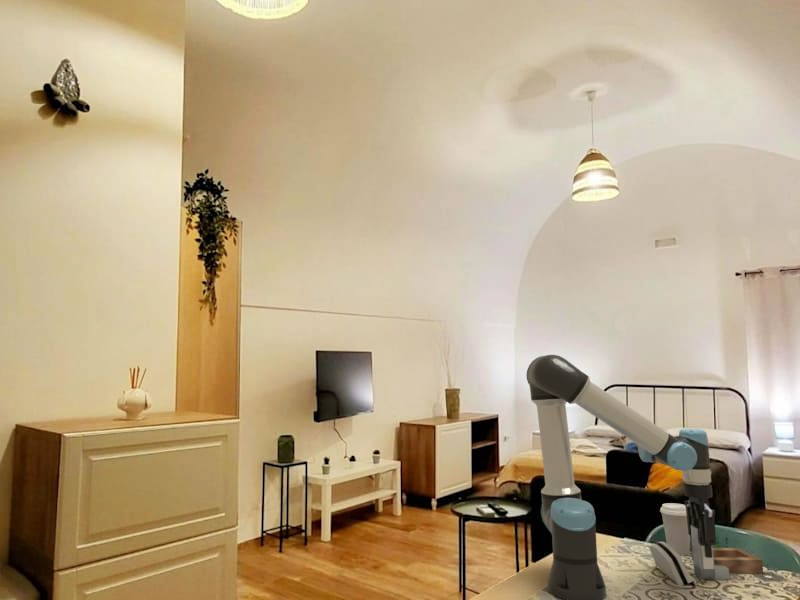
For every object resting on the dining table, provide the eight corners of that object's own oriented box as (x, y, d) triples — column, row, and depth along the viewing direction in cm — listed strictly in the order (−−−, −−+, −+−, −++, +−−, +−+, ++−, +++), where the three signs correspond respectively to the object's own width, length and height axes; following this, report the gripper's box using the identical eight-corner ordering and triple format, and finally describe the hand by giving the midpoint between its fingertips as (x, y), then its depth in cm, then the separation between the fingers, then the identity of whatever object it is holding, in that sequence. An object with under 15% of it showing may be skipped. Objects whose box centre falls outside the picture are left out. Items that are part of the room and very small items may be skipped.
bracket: (701, 579, 162) (697, 528, 164) (694, 574, 166) (690, 525, 168) (729, 579, 162) (725, 528, 163) (722, 574, 165) (717, 524, 167)
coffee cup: (665, 556, 183) (661, 508, 185) (660, 547, 192) (657, 502, 194) (697, 558, 180) (693, 509, 183) (691, 549, 190) (688, 503, 192)
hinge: (698, 586, 157) (683, 550, 158) (682, 592, 157) (667, 556, 158) (672, 566, 174) (659, 534, 175) (658, 571, 174) (644, 539, 175)
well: (711, 573, 167) (710, 560, 167) (692, 560, 178) (691, 548, 179) (763, 573, 166) (762, 559, 167) (740, 560, 178) (739, 547, 179)
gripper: (725, 488, 159) (733, 576, 156) (695, 477, 176) (702, 556, 172) (698, 488, 159) (705, 576, 156) (671, 477, 176) (677, 556, 173)
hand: (703, 565), depth 164 cm, fingers closed on bracket, 4 cm apart
